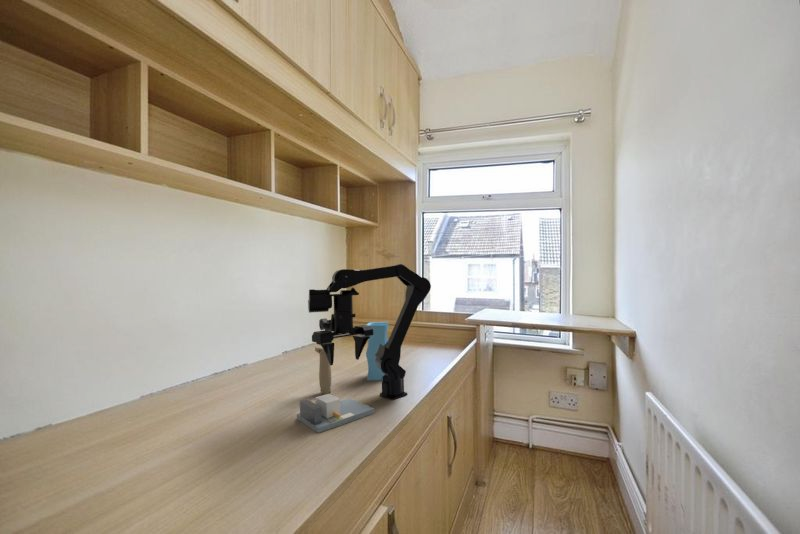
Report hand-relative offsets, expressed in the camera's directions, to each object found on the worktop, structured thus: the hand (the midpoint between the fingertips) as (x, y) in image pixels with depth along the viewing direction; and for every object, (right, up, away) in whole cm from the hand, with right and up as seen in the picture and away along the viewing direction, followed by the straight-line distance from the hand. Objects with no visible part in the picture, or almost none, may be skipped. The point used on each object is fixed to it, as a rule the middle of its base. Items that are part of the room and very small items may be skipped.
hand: (344, 362), depth 104 cm
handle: (-8, -13, +9) cm, 17 cm away
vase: (+9, -13, +25) cm, 29 cm away
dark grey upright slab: (-6, -10, -15) cm, 20 cm away
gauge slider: (-2, -10, -13) cm, 17 cm away
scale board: (-1, -12, -10) cm, 16 cm away
